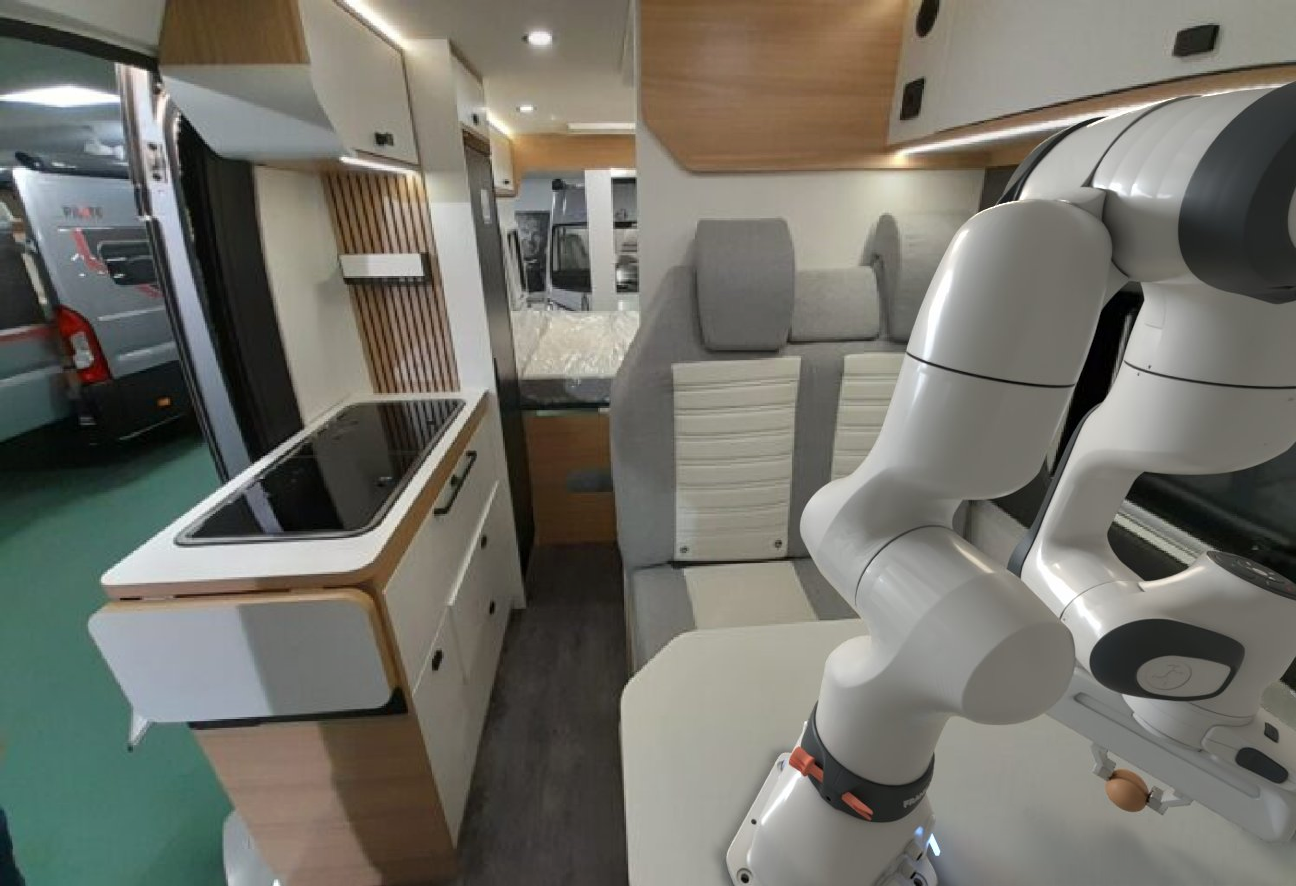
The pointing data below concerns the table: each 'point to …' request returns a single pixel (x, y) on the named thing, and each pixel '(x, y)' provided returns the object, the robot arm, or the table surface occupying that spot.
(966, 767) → the table surface
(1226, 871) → the table surface
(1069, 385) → the robot arm
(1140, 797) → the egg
